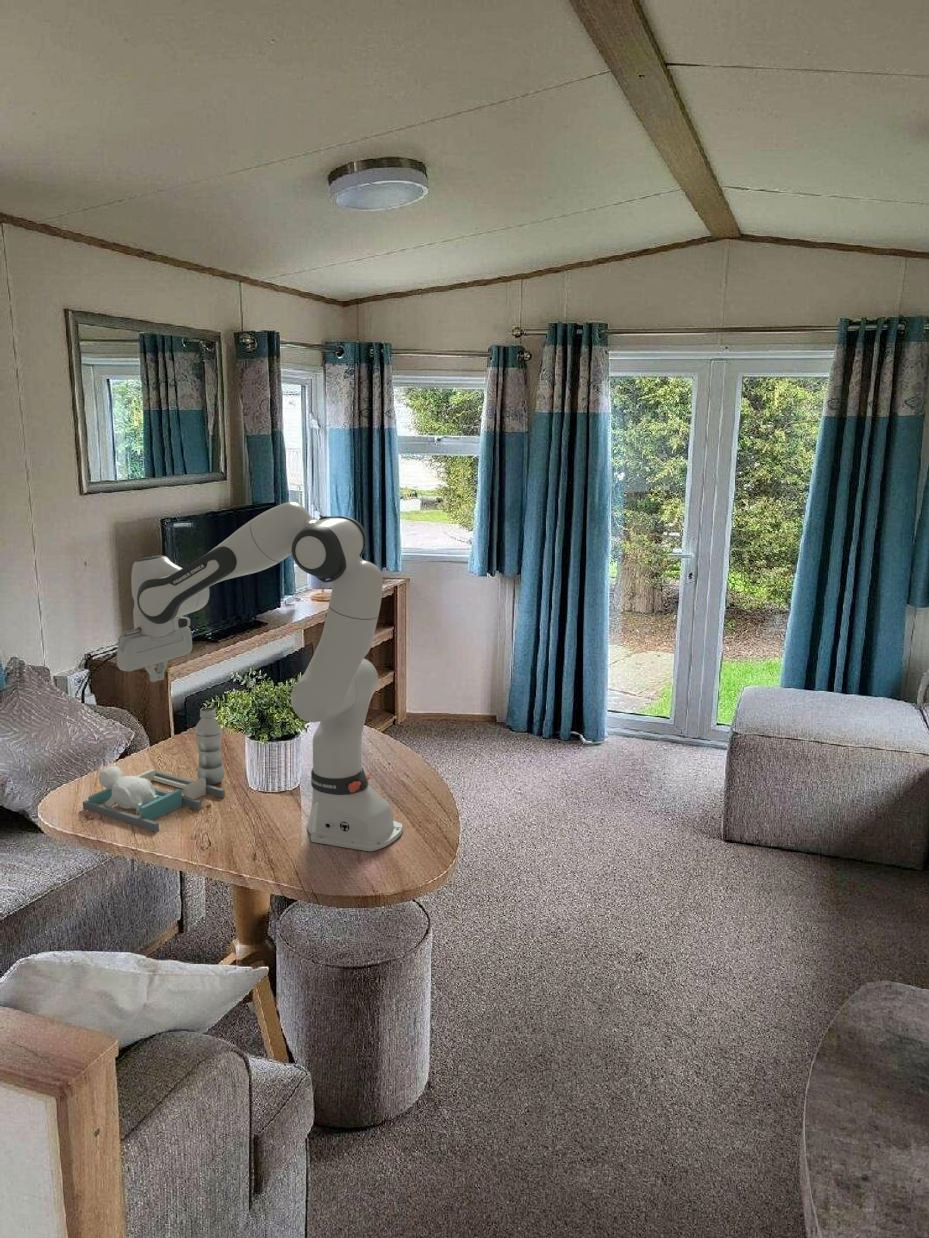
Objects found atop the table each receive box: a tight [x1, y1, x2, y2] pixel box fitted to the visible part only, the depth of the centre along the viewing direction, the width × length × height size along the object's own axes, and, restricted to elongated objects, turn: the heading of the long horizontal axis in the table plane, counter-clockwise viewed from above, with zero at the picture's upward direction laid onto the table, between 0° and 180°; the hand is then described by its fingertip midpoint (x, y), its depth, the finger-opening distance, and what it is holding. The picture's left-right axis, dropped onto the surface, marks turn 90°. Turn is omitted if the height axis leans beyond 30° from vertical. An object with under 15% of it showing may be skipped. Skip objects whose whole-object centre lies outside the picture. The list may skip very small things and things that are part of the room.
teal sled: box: [87, 788, 183, 821], centre depth 210 cm, size 19×12×4 cm, turn 62°
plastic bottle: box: [194, 706, 225, 786], centre depth 223 cm, size 6×7×20 cm
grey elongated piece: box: [135, 768, 207, 800], centre depth 219 cm, size 19×6×4 cm, turn 62°
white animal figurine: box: [98, 765, 157, 815], centre depth 211 cm, size 9×8×15 cm
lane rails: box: [82, 770, 226, 833], centre depth 213 cm, size 24×22×2 cm
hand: (157, 680), depth 207 cm, fingers closed
